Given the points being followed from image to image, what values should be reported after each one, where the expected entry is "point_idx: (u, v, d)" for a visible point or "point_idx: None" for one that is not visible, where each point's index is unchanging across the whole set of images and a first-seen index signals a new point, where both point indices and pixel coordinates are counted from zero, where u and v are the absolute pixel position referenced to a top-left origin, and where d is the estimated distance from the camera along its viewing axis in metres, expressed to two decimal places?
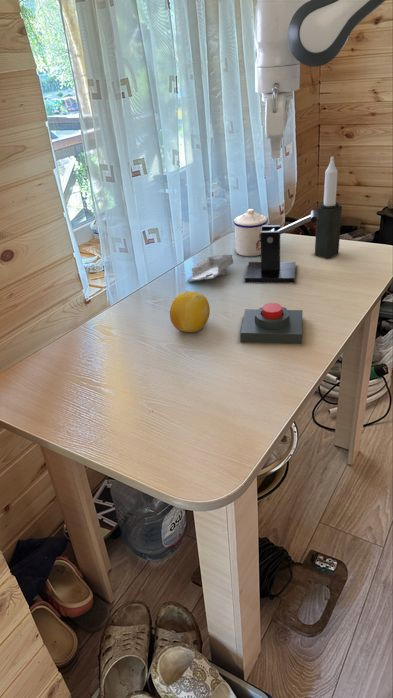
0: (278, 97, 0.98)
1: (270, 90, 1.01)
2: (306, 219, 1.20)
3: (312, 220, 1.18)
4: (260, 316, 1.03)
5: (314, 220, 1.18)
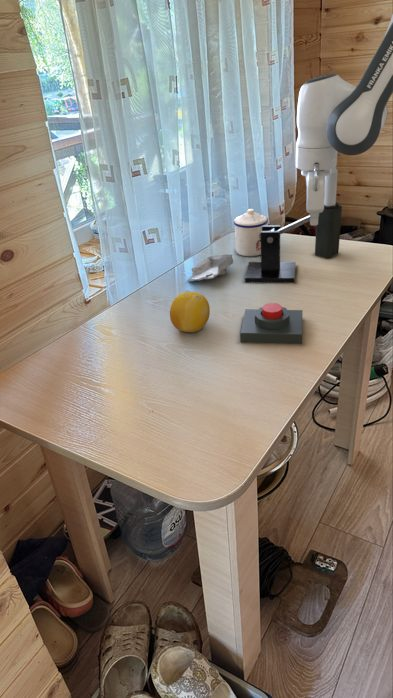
0: (319, 177, 1.07)
1: (310, 168, 1.10)
2: (306, 219, 1.20)
3: None
4: (260, 316, 1.03)
5: None
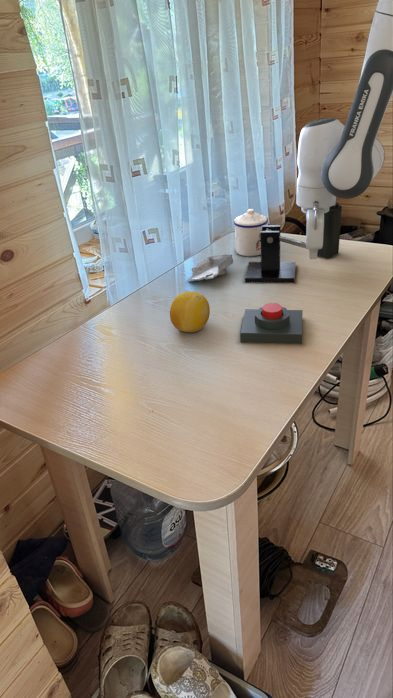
0: (318, 216, 1.11)
1: (310, 206, 1.14)
2: None
3: None
4: (260, 316, 1.03)
5: None
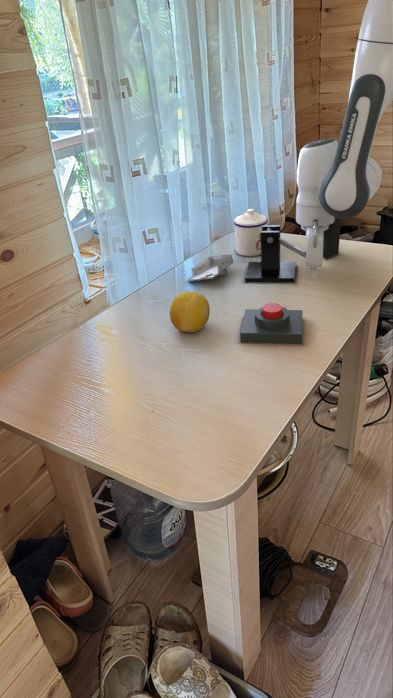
0: (318, 234, 1.13)
1: (310, 224, 1.17)
2: (304, 254, 1.24)
3: None
4: (260, 316, 1.03)
5: None
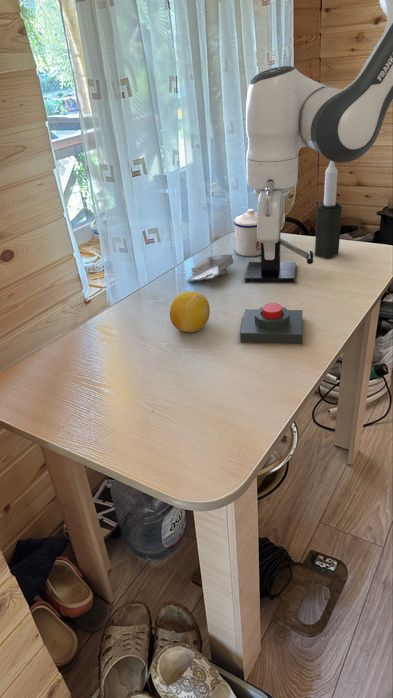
0: (272, 199, 0.84)
1: (263, 186, 0.87)
2: (304, 254, 1.24)
3: (308, 260, 1.23)
4: (260, 316, 1.03)
5: (309, 262, 1.23)
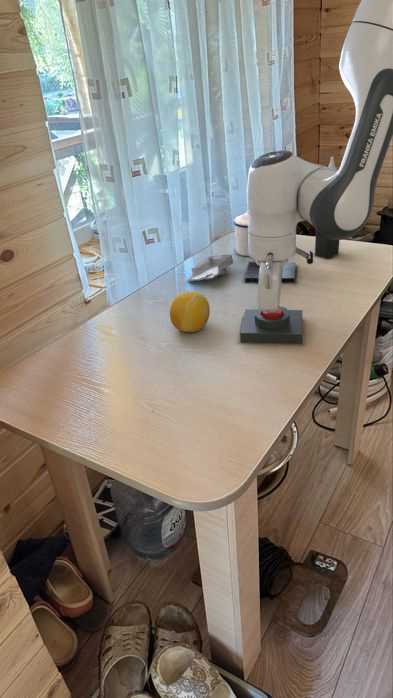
0: (272, 272, 0.90)
1: (264, 258, 0.93)
2: (304, 254, 1.24)
3: (308, 260, 1.23)
4: (260, 316, 1.03)
5: (309, 262, 1.23)
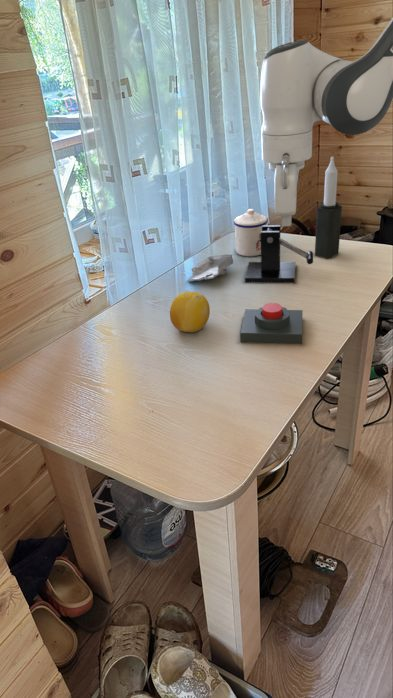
0: (289, 171, 0.85)
1: (279, 160, 0.89)
2: (304, 254, 1.24)
3: (308, 260, 1.23)
4: (260, 316, 1.03)
5: (309, 262, 1.23)
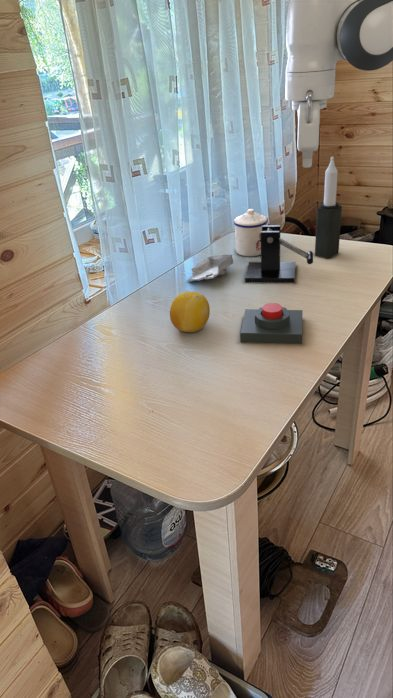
0: (313, 106, 0.88)
1: (302, 98, 0.92)
2: (304, 254, 1.24)
3: (308, 260, 1.23)
4: (260, 316, 1.03)
5: (309, 262, 1.23)
